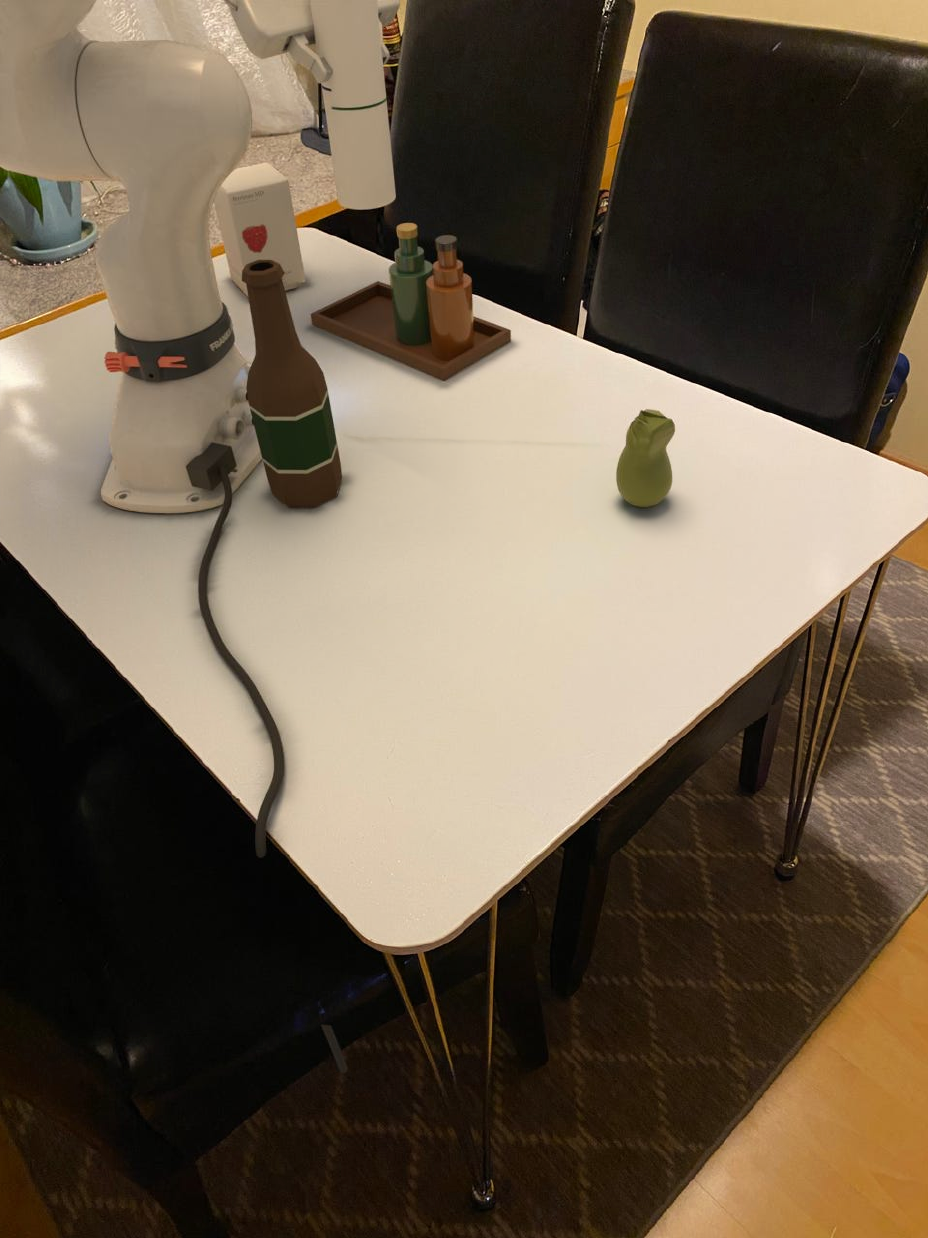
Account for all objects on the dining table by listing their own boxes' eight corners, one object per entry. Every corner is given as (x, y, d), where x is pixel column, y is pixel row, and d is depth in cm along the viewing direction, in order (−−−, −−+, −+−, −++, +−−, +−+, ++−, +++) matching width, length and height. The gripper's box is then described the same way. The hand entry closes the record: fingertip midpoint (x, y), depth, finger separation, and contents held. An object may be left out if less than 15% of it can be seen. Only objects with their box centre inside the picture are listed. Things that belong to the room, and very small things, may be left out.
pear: (638, 478, 94) (646, 393, 87) (680, 498, 91) (692, 412, 84) (604, 502, 91) (610, 416, 84) (646, 524, 88) (656, 437, 81)
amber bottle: (472, 361, 112) (466, 248, 102) (428, 360, 113) (418, 248, 103) (477, 339, 116) (472, 229, 106) (435, 339, 116) (426, 229, 107)
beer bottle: (266, 476, 97) (211, 256, 81) (336, 461, 99) (296, 241, 82) (277, 517, 92) (221, 290, 75) (351, 501, 93) (312, 274, 77)
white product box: (249, 301, 129) (224, 192, 118) (230, 279, 134) (205, 173, 124) (308, 285, 131) (289, 177, 121) (287, 264, 137) (267, 159, 127)
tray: (511, 344, 116) (511, 329, 114) (444, 385, 109) (443, 369, 108) (379, 295, 128) (378, 280, 127) (312, 328, 122) (310, 313, 120)
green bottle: (434, 345, 115) (425, 235, 105) (392, 345, 116) (379, 235, 106) (440, 325, 119) (432, 217, 109) (400, 325, 120) (388, 217, 110)
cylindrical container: (374, 183, 114) (347, -62, 96) (407, 198, 110) (384, -55, 92) (327, 198, 111) (289, -52, 93) (358, 213, 107) (325, -45, 89)
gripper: (214, -54, 91) (290, 70, 93) (367, -83, 101) (433, 30, 102) (201, -6, 96) (272, 111, 98) (347, -37, 106) (410, 69, 108)
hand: (356, 69), depth 100 cm, fingers closed on cylindrical container, 7 cm apart
